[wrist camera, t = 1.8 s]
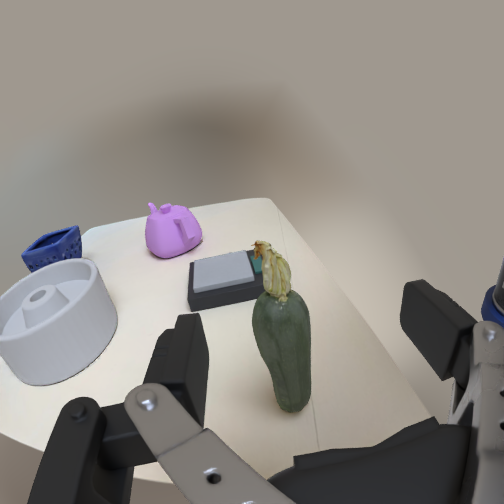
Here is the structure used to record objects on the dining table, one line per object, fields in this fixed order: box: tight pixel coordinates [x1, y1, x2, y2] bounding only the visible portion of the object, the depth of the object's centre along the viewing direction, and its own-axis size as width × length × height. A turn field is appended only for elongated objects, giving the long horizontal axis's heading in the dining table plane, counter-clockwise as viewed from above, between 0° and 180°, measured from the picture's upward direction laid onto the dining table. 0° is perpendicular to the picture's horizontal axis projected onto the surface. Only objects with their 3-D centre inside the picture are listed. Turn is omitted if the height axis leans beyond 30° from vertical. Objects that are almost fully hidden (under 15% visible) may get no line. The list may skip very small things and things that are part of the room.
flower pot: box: [21, 226, 82, 273], centre depth 63 cm, size 13×13×12 cm
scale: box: [188, 250, 266, 312], centre depth 53 cm, size 14×13×4 cm
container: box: [0, 258, 117, 385], centre depth 42 cm, size 25×25×10 cm
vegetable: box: [251, 241, 311, 412], centre depth 23 cm, size 4×4×20 cm
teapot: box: [145, 203, 202, 258], centre depth 70 cm, size 13×20×11 cm, turn 43°
